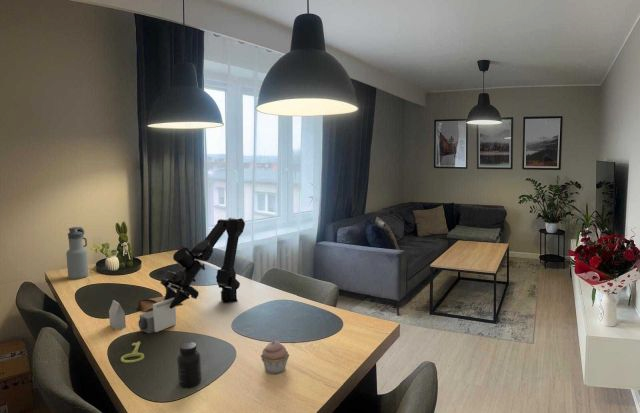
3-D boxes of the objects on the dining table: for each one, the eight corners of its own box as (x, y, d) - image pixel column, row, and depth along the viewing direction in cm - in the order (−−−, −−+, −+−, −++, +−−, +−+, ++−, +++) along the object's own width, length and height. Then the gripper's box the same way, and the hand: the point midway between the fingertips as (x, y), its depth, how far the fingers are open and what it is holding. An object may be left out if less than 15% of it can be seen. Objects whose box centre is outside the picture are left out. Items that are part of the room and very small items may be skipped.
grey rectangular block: (163, 321, 169) (162, 307, 169) (171, 325, 166) (171, 310, 165) (137, 330, 161) (136, 316, 160) (146, 334, 157) (145, 319, 156)
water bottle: (76, 273, 235) (73, 225, 231) (92, 274, 234) (89, 226, 230) (64, 279, 225) (59, 229, 221) (80, 279, 224) (76, 229, 220)
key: (140, 346, 149) (140, 340, 149) (145, 360, 138) (144, 354, 138) (118, 350, 145) (118, 344, 145) (121, 366, 135) (121, 360, 135)
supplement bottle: (192, 374, 129) (190, 338, 128) (206, 381, 126) (205, 343, 124) (173, 384, 124) (171, 346, 122) (187, 391, 120) (186, 353, 118)
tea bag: (116, 330, 161) (114, 305, 160) (109, 324, 166) (108, 301, 165) (125, 327, 164) (124, 303, 163) (119, 322, 169) (117, 298, 167)
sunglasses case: (142, 313, 178) (140, 298, 180) (139, 316, 183) (137, 301, 185) (184, 304, 188) (181, 290, 190) (180, 308, 193) (178, 294, 195)
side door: (174, 323, 166) (173, 297, 165) (176, 324, 166) (175, 298, 164) (154, 331, 159) (152, 304, 158) (156, 332, 158) (155, 305, 157)
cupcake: (261, 362, 137) (261, 334, 135) (289, 361, 137) (289, 333, 136) (259, 377, 127) (258, 347, 126) (289, 377, 128) (288, 346, 127)
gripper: (163, 259, 170) (139, 292, 163) (191, 266, 159) (167, 302, 152) (180, 273, 177) (158, 305, 170) (208, 281, 166) (186, 316, 159)
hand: (166, 306), depth 162 cm, fingers open, 4 cm apart
